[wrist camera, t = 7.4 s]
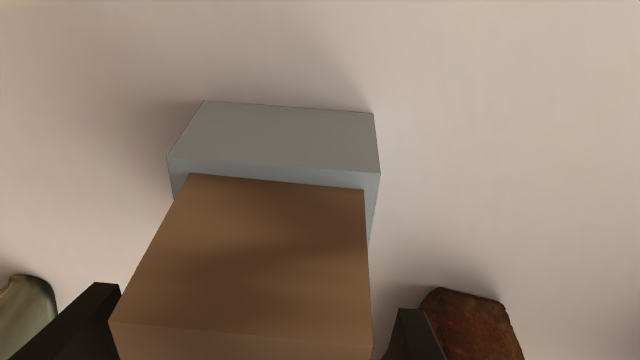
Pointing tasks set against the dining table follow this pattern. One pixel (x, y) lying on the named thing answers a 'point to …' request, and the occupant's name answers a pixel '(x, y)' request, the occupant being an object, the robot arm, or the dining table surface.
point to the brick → (470, 327)
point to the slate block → (280, 147)
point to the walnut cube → (251, 276)
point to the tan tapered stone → (24, 312)
